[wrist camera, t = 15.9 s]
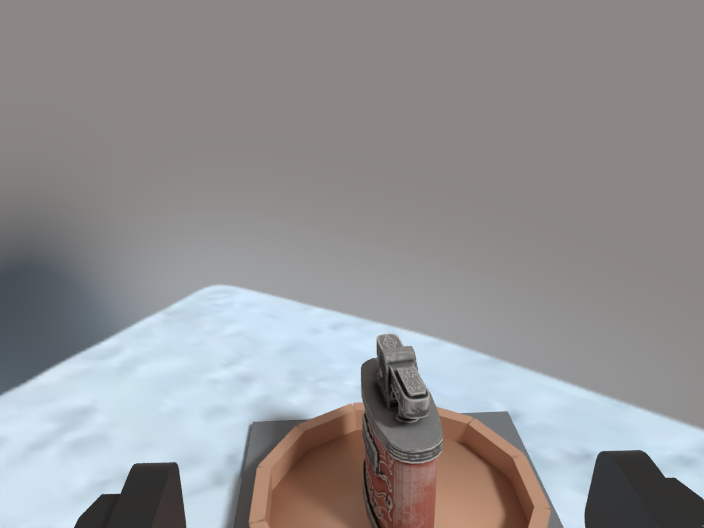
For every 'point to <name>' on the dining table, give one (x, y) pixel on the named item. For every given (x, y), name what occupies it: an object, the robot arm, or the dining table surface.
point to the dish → (347, 490)
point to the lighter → (398, 439)
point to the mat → (274, 432)
